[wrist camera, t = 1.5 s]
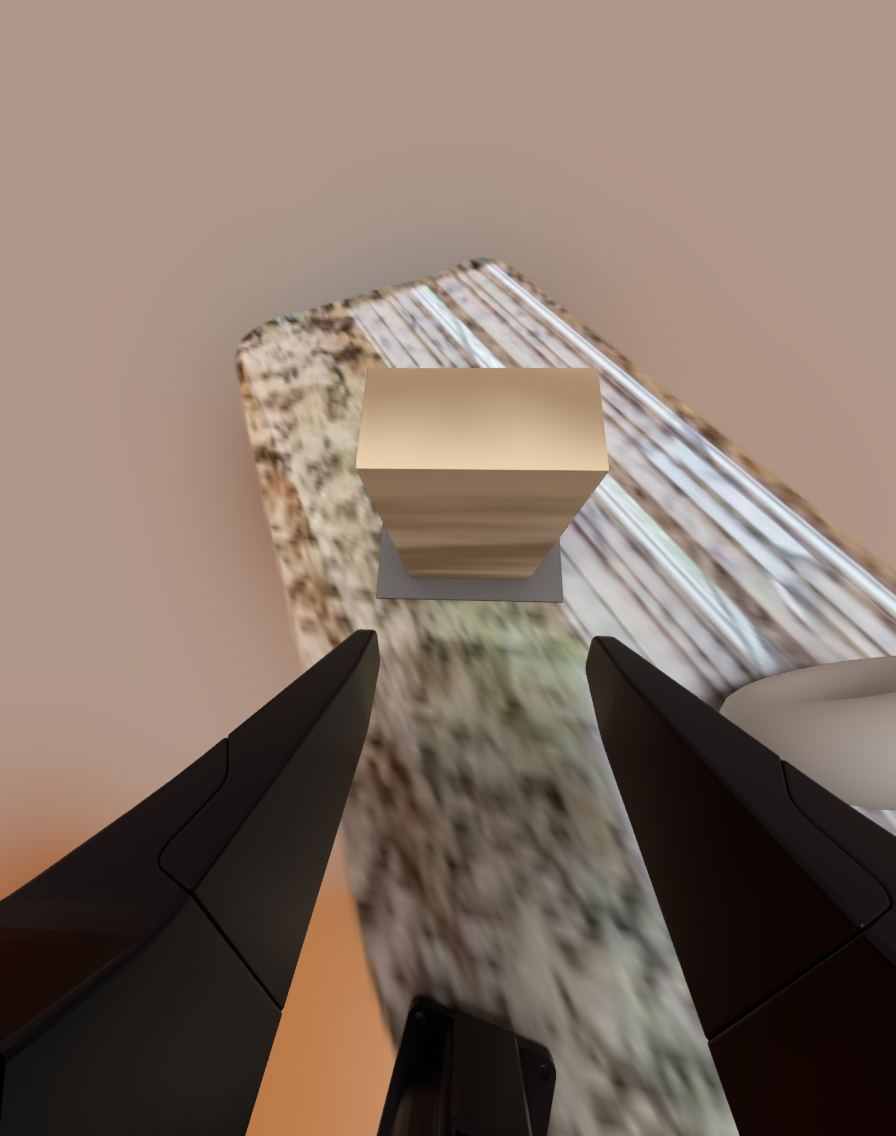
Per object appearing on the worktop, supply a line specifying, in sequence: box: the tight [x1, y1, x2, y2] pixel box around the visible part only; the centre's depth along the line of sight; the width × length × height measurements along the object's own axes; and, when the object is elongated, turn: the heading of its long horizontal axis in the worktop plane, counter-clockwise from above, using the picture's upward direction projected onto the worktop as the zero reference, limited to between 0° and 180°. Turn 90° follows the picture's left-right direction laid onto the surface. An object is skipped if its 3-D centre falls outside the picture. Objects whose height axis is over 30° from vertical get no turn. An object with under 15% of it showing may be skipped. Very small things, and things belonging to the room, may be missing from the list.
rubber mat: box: [376, 524, 563, 602], centre depth 23 cm, size 16×11×1 cm
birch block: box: [356, 368, 609, 580], centre depth 16 cm, size 4×7×12 cm, turn 88°
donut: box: [719, 656, 896, 810], centre depth 14 cm, size 10×3×10 cm, turn 106°
